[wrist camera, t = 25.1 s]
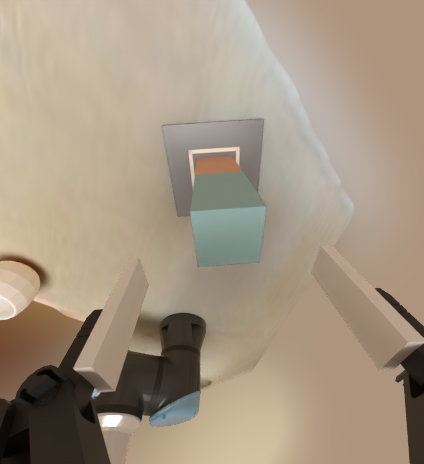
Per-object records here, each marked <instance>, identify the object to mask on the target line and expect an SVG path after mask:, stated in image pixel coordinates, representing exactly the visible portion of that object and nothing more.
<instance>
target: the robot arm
mask: <svg viewBox="0 0 424 464" xmlns="http://www.w3.org/2000/svg"><path fill="white" fill-rule="evenodd" d="M312 275H313V276H314V278H315V279H316V280H317V282H318V283H319V285H320V286H321V288H322V289H323V291H324V292H325V293H326V295H327V296H328V298H329V299H330V301H331V302H332V304H333V305H334V306H335V308H336V309H337V311H338V312H339V314H340V315H341V317H342V318H343V319H344V321H345V322H346V324H347V325H348V326H349V328H350V330H351V331H352V332H353V334H354V335H355V337H356V338H357V340H358V341H359V343H360V344H361V345H362V347H363V348H364V350H365V351H366V352H367V354H368V355H369V357H370V358H371V360H372V361H373V363H374V364H375V366H376V367H377V368H378V370H390V369H395V368H396V367H397V366H398V365H399V364H401V365H402V366H403V367H404V369H405V370H404V371H403V372H402V373H401V374H400V375H398V376H397V377H396V380H395V381H396V382H400V381H401V380H402V379H403V380H404V384H403V386H404V393H405V406H406V419H407V432H408V445H409V459H410V464H424V326H423V325H422V324H420V323H419V322H418V321H417V320H416V319H415V318H414V317H413V316H412V315H411V314H410V313H408V312H407V310H406V309H405V308H404V307H403V306H402V305H400V304H399V303H398V302H397V301H396V300H395V299H394V298H393V297H392V296H391V295H390V294H388V293H386V292H385V291H383V290H382V289H380V288H376V289H374V288H373V287H372V286H371V285H370V284H369V283H368V282H367V281H366V280H365V279H364V278H363V277H362V276H361V275H360V274H359V273H358V272H357V271H356V270H355V269H354V268H353V267H352V266H351V265H350V264H349V263H348V262H347V261H346V260H345V259H344V258H343V257H342V256H341V255H340V254H339V253H338V251H336V250H335V248H334V247H333V246H332V245H325V246H320V249H319V252H318V255H317V258H316V261H315V264H314V267H313V270H312ZM147 288H148V282H147V279H146V277H145V274H144V271H143V268H142V266H141V263H140V260H139V259H131V260H128V262H127V263H126V265H125V267H124V269H123V271H122V273H121V275H120V277H119V279H118V281H117V283H116V285H115V287H114V289H113V291H112V293H111V295H110V297H109V299H108V301H107V303H106V305H105V307H104V309H100V310H94V311H93V312H92V313H91V314H90V315H89V316H88V317H87V318H86V320H85V322H84V324H83V325H82V327H81V330H80V331H79V333H78V334H77V336H76V338H75V339H74V341H73V343H72V345H71V346H70V348H69V350H68V352H67V353H66V355H65V357H64V359H63V360H62V362H61V364H60V366H59V367H58V368H57V367H55V366H52V365H49V366H44V367H42V368H40V369H38V370H36V371H35V372H34V373H33V374H31V375H30V376H29V377H28V378H27V379H26V380H25V381H24V382H23V383H22V385H21V386H20V388H19V390H18V392H17V394H16V398H15V399H14V400H12V401H7V400H5V399H0V464H125V460H126V456H127V451H128V446H129V442H130V437H131V436H132V434H133V433H134V432H135V431H136V430H137V428H138V427H139V426H140V424H141V420H142V415H146V416H150V418H149V421H150V425H151V426H156V427H164V426H171V425H176V424H180V423H183V422H186V421H189V420H191V419H192V418H194V417H195V416H196V415H197V413H198V411H199V400H200V393H201V391H200V350H201V347H202V344H203V340H204V337H205V333H206V324H205V322H204V321H203V320H202V319H201V318H200V317H198V316H195V315H192V314H174V315H171V316H168V317H167V318H165V319H164V320H163V321H162V323H161V327H160V337H161V346H162V353H161V356H155V355H149V354H143V353H137V352H131V351H130V350H128V349H129V345H130V342H131V339H132V336H133V333H134V330H135V326H136V323H137V320H138V317H139V314H140V311H141V307H142V304H143V301H144V298H145V295H146V291H147Z"/></svg>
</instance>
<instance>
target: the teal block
mask: <svg viewBox="0 0 424 464" xmlns="http://www.w3.org/2000/svg"><path fill="white" fill-rule="evenodd" d="M190 214H191V221H192V228H193V236H194V243H195V250H196V257H197V265H198V267H205V266H219V265H233V264H247V263H260V256H261V248H262V239H263V231H264V223H265V214H266V205H265V203H264V202H263V200H262V199H261V197H260V196H259V194H258V193H257V191H256V190H255V188H254V187H253V185H252V184H251V182H250V181H249V180H248V178H247V177H246V175H245V174H244V172H228V173H214V174H199V175H195V179H194V186H193V194H192V201H191V209H190Z"/></svg>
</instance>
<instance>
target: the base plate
mask: <svg viewBox="0 0 424 464" xmlns="http://www.w3.org/2000/svg"><path fill="white" fill-rule="evenodd" d="M161 127H162V132H163V138H164V143H165V149H166V154H167V160H168V165H169V171H170V176H171V182H172V187H173V193H174V198H175V204H176V210H177V215H178V217H179V216H191V214H190V209H191V201H192V194H193V186H194V179H195V176H194V175H195V167H196V160H197V158H206V157H220V156H232V157H233V158H234V160H235V161H236V163H237V164H238V166H239V167H240V169H241V170H242V172H244V174H245V175H246V177H247V178H248V180H249V181H250V182H251V184H252V185H253V187H254V188H255V190H256V191H257V193H258V183H259V172H260V161H261V150H262V138H263V127H264V119H252V120H237V121H221V122H206V123H191V124H176V125H163V126H161Z"/></svg>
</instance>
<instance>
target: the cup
mask: <svg viewBox="0 0 424 464" xmlns="http://www.w3.org/2000/svg"><path fill="white" fill-rule="evenodd" d="M39 288H40V279H39V276H38V274H37V273H36V272H35V271H34V269H33V268H32V267H30V266H29V265H26V264H24V263H20V262H15V261H0V320H3V319H9V318H11V317H14V316H16V315H17V314H18V313H20V312H21V311H23V310H24V309H25V308H26V307H27V306H28V305H29V303H30V302H31V301H32V300H33V299H34V297H35V296H36V294H37V292H38V290H39Z"/></svg>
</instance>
